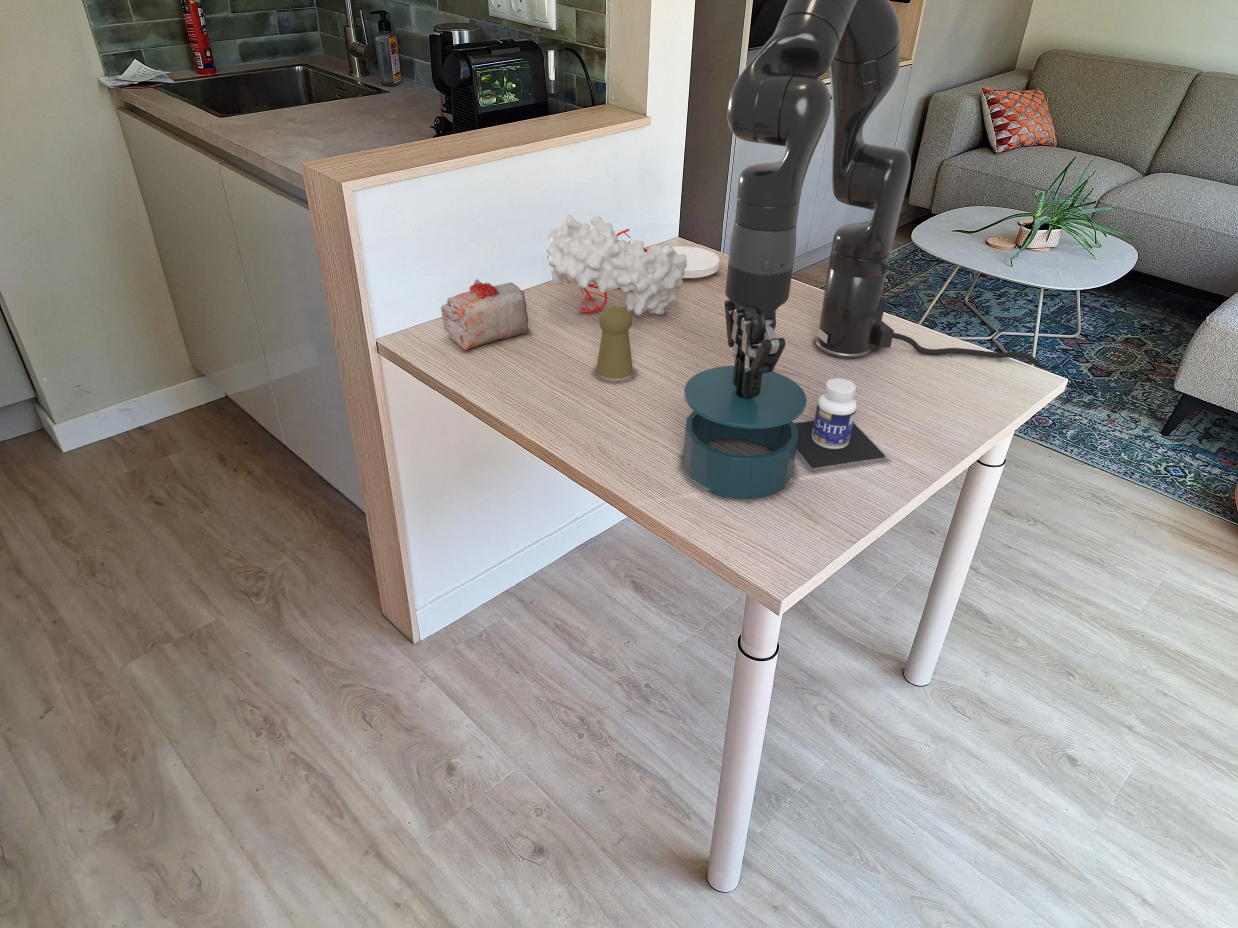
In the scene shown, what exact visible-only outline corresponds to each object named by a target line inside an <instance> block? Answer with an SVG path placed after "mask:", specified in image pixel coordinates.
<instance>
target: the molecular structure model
mask: <svg viewBox="0 0 1238 928" xmlns="http://www.w3.org/2000/svg"><path fill="white" fill-rule="evenodd" d="M589 223H590V224H591V225H593V228H592V229H591V230H590V228H591V226H590V224H589ZM589 223H587V222H585V223H581V222H580V221H578V220H576V218H574V217H573V216H572V215H571V214H567V215H565V221H563V222H562V223H561V224H560V226H559V228H554V229H552V230H550V231H549V233H548V241H549V242H548V245H547V248H546V253H547V254H546V259H547V261H548V265H549V266H550V267H552V269H551V280H552V283H553V284H554V285H561V284H562V283H563V282H565V281H566V282H567V283H569V284H572V285H573V284H574V287H575V288H576V290H577V291H578V290H580V292H581V294H582V295H584V292H585V293H586V295H585V296H584V298H583V300H582V302H581V303H582V307H583V308H584V310H581V311H580V313H581V314H585V313H586V314H587V313H594V312H597V311H600V310H603V308H604V307H605V305H606V304H607V301H608V294H607V291H609V292H612V291H619V290H621V291H622V292H623V293H624V294H626V295H625V298H624V304H625V306H626V309H627V310H628V311H629V312H632V311H633V312H634V314H635V315H636V316H641V315H642V314H645V313H646V311H647V312H648V313H649V314H656V315H660V316H661V315H664V314H665V310H666V309H665V308H667V307H668V306H669V305H670V304H672V303H674V302H676V301H677V292H678V291H679V290H680V289H681V288H682V287H684V282H683V280H684V278H683V276H684V274H685V272H684V270H685V269H686V267H687V260H686V255H685V254H681V255H678V254H677V252H676V251H675V250H674V249H673V247H674V246H671V245H670V244H666V245H664V246H663V245H658V244H657V245H656V244H651V245H650V246H647V247H646V248H644V247H645V243H644V241H642V240H636V239H635V240H633V241H632V243H630V242H631V240H628V242H627V240H626V239H620V240H619V239H618V237H619V236H620V235H622V234H624V235H626V237H628V238H629V239H631V237H632V236H630V235H629V234H627V232H630V229H629V228H626V229H624V230H621V231H620V232H618V233H615V231H614V230H613V227H614V226H613V225H612V223H611V222H610V223H609V222H604V221H603V218H602V217H601V216H600V215H599V216H593V217H591V218H590V219H589ZM592 282H593V283H592ZM587 288H593V289H598V290H599V293H600V294H599V293H596V292H592V291H589V290H588V289H587ZM592 294H593V295H596V296H598V297H601V298H604V301H603V303H602V304H601V306H599V305H598V304H596V303H595V302H594V301H592V300H593V297H592ZM602 294H604V295H602ZM586 300H588V301H589V302H590V303H592V304H593V305H595V307H597V308H593V309H589V310H588V309H587V307H586V306H585V305H584V304H583V303H584V302H585V301H586Z"/></svg>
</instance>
